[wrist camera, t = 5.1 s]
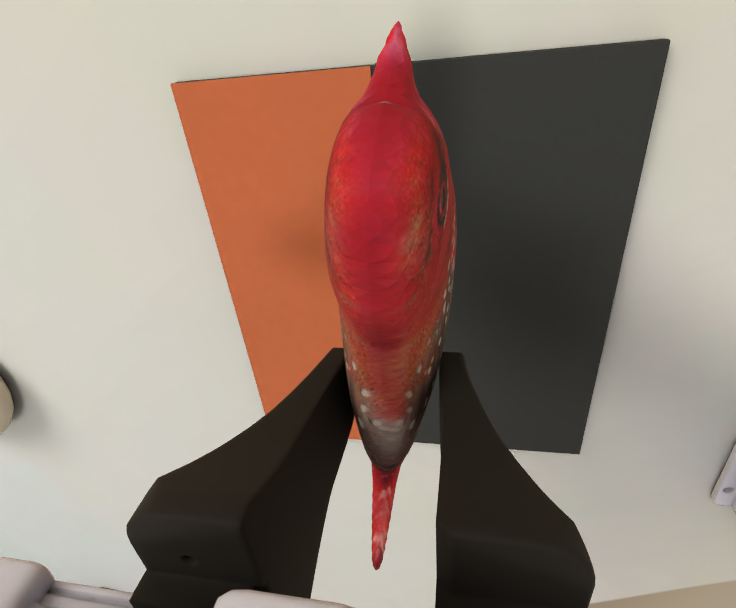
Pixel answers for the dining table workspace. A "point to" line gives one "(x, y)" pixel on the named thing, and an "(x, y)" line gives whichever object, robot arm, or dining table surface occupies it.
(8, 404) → the donut
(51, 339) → the dining table surface
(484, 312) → the orange and black board
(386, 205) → the decorative bird figurine
